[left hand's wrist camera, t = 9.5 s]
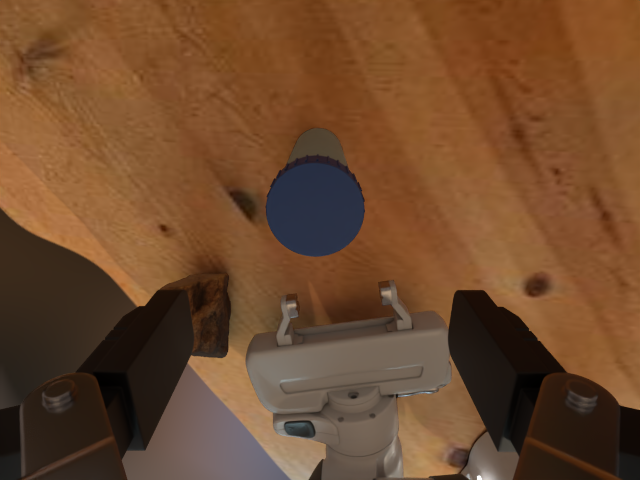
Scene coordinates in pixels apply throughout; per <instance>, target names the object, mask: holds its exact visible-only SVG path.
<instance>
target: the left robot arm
mask: <svg viewBox="0 0 640 480" xmlns="http://www.w3.org/2000/svg"><path fill="white" fill-rule="evenodd" d="M193 346H194V331H193V324H192V317H191V311H190V304H189V297H188V294H187V292H186V290H158V291H157V292H156V293H155V294H154V295H153V297H152V298H151V299H150V300H149V302H148V303H147V304H146V305H145V306H139V307H137V308H136V309H134V310H133V311H131V312H129V313H128V314H126V315H125V316H123V317H122V319H121V320H120V321H119V322H118V323H117V324H116V326H115V327H114V330H111V331H110V333H109V334H108V335H107V336H106V337H105V340H103V341H102V342H101V343H100V344H99V345H98V347H97V348H96V349H95V350H94V351H93V353H92V354H91V355H90V356H89V357H88V358H87V359H86V361H85V362H84V363H83V364H82V365H81V367H80V368H79V369H78V370H77V371H76V372H75V373H70V374H66V375H62V376H58V377H56V378H53V379H51V380H49V381H47V382H45V383H43V384H42V385H40V386H38V387H37V388H36V389H34V390H33V391H32V392H31V393H30V394H28V396H27V397H26V398H25V399H24V401H23V402H22V404H21V405H18V406H14V407H9V408H5V409H1V410H0V480H127V477H126V473H125V470H124V467H123V463H122V458H123V456H124V455H125V453H126V451H127V450H146V448H147V446H148V443H149V441H150V439H151V437H152V435H153V433H154V431H155V429H156V427H157V425H158V423H159V421H160V419H161V416H162V414H163V412H164V410H165V408H166V406H167V404H168V402H169V400H170V398H171V396H172V393H173V392H174V389H175V387H176V385H177V383H178V381H179V379H180V377H181V375H182V373H183V371H184V369H185V367H186V365H187V362H188V360H189V358H190V356H191V354H192V351H193ZM448 347H449V352H450V355H451V357H452V359H453V361H454V363H455V365H456V367H457V369H458V371H459V373H460V376H461V378H462V380H463V382H464V384H465V386H466V388H467V390H468V392H469V394H470V396H471V398H472V400H473V402H474V404H475V406H476V408H477V410H478V412H479V414H480V417H481V419H482V421H483V423H484V425H485V427H486V429H487V431H488V433H489V435H490V437H491V439H492V441H493V443H494V445H495V447H496V449H497V451H498V452H517V454H518V456H519V460H518V463H517V467H516V470H515V473H514V477H513V480H640V410H637V409H632V408H628V407H623V406H620V405H619V404H618V402H617V401H616V399H615V398H614V397H613V396H612V394H610V393H609V392H608V391H607V390H606V389H604V388H603V387H602V386H600V385H598V384H597V383H595V382H593V381H591V380H589V379H587V378H584V377H582V376H578V375H575V374H570V373H567V372H566V371H565V370H564V369H563V367H562V366H561V365H560V364H559V363H558V362H557V360H556V359H555V358H554V357H553V356H552V355H551V353H550V352H549V351H548V350H547V349H546V348H545V347H544V345H543V344H542V343H541V342H540V341H538V340H537V337H536V336H535V335H534V334H533V333H532V332H531V331H529V328H528V327H527V326H526V325H525V323H524V322H523V321H522V320H521V319H520V318H519V317H518V316H517V315H515V314H513V313H512V312H510V311H509V310H507V309H506V308H504V307H497V306H496V304H495V303H494V302H493V301H492V299H491V298H490V297H489V296H488V294H487V293H486V292H485V291H483V290H457V291H456V292H455V294H454V298H453V304H452V311H451V318H450V324H449V331H448Z"/></svg>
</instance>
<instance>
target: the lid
mask: <svg viewBox="0 0 640 480" xmlns="http://www.w3.org/2000/svg"><path fill="white" fill-rule="evenodd" d="M270 187H271V189H270V191H269V193H268V195H267V197H268V198H267V203H266V215H267V220H268V224H269V226H270V229H271V231H272V232H273V234H274V236H275V237H276V238H277V239H278V241H279V242H281V243H282V244H283V245H284V246H285V247H287V248H288V249H290V250H291V251H293V252H296V253H298V254H302V255H306V256H315V257H316V256H325V255H329V254H333V253H335V252H337V251H340V250H341V249H343V248H344V247H346V246H347V245H348V244H349V243H350V242H351V241H352V240H353V239H354V238H355V237H356V235H357V234H358V232H359V230H360V228H361V225H362V222H363V218H364V212H365V210H364V202H365V201H364V198H363V195H362V192H361V191H362V190H361V187H360V184H359V182H358V183H357V180H356V177H355V175H354V173H353V174H352V173H351V172H350V170H349V169H348V166H344V165H343V164H342V163H340V162H339V160H335V159H332V158H329V156H327V157H326V156H319V154H317V155H313V156H308V155H306V157H302V158H299V159H298V158H296V159H295V161H293V162H291V163H290V164H289V163H287V164H286V167H285V168H284V169H282V171H281V170H280V171H279V173H278V175H277V177H276V179H275V178H274V180H273V182H272V184H271V186H270Z"/></svg>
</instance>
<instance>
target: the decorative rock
mask: <svg viewBox="0 0 640 480" xmlns="http://www.w3.org/2000/svg"><path fill="white" fill-rule="evenodd" d="M228 280H229V276H228V274H227V273H220V274H212V273H202V274H196V275H189V276H188V277H186V278H183V279H181V280H179V281H176V282H173V283H169V284H167V285H165V286H164V287H162V288H161V289H160V290H186V292H187V294H188V297H189V304H190V311H191V317H192V324H193V331H194V346H193V351H192V354H191V355H192V356H201V357H202V356H203V357H215V358H216V357H217V358H223V357H225V356H226V355H227V352H228V335H229V320H230V314H231V303H230V300H229V297H228V293H227V287H228Z"/></svg>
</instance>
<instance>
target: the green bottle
mask: <svg viewBox="0 0 640 480" xmlns="http://www.w3.org/2000/svg"><path fill="white" fill-rule="evenodd" d="M317 154H319V156H326V157H327V156H329V158H332V159H335V160H339V162H340V163H342V164H343V165H344V166H348V165H347V162H346V159H345V156H344V153H343V150H342V147H341V144H340V142H339V140H338V138H337V137H336V136H335V135H334V134H333V133H332V132H330V131H328V130H326V129H322V128H314V129H310V130H308V131H306V132H304V133H303V134H302V135H301V136H300V137H299V138H298V140H297V142H296V144H295V146H294V149H293V151H292V153H291V155H290V158H289V160H288V162H287V163H289V164H290V163H291V162H293V161H295V159H296V158H298V159H299V158H302V157H306V155H308V156H313V155H317ZM348 169H349V168H348Z"/></svg>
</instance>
